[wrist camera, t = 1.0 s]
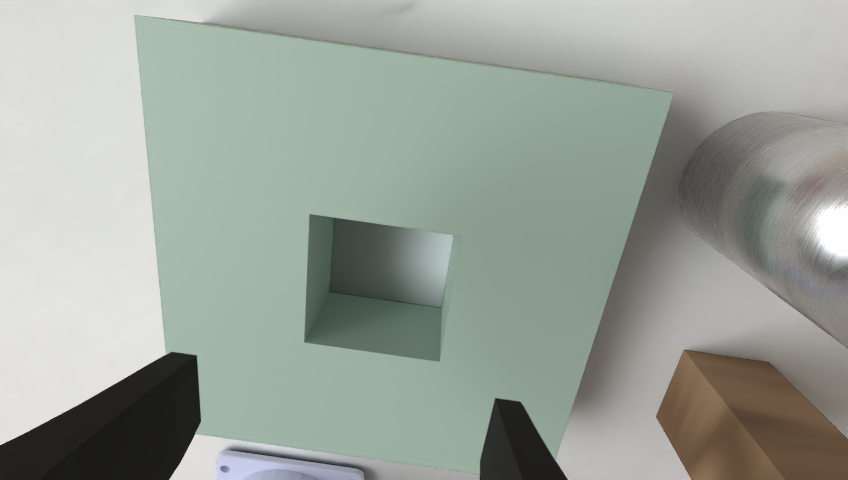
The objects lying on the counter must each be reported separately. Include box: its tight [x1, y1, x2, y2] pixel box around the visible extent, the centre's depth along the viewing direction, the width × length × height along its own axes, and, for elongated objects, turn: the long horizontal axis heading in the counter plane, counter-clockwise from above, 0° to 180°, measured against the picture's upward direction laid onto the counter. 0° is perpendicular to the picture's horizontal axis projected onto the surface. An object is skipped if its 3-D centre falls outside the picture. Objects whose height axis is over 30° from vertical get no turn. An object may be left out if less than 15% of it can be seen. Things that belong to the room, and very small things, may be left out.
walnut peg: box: [656, 350, 848, 480], centre depth 19 cm, size 4×4×8 cm
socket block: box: [134, 15, 674, 474], centre depth 19 cm, size 16×16×4 cm
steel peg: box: [679, 112, 848, 348], centre depth 15 cm, size 6×6×8 cm
